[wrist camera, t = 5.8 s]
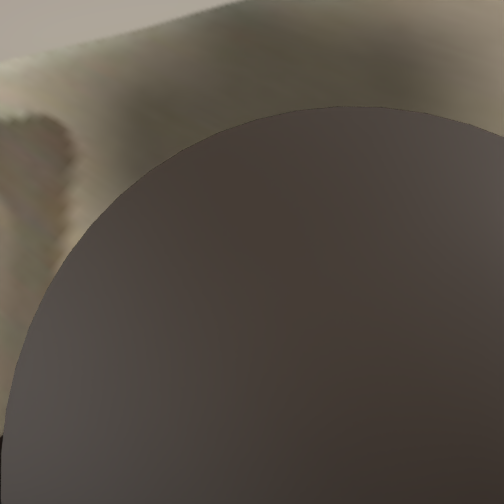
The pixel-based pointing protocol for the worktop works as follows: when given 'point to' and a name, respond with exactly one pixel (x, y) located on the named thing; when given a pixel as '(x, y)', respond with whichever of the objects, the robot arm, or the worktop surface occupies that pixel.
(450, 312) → the tan jar with lid
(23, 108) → the worktop surface
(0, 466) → the robot arm
